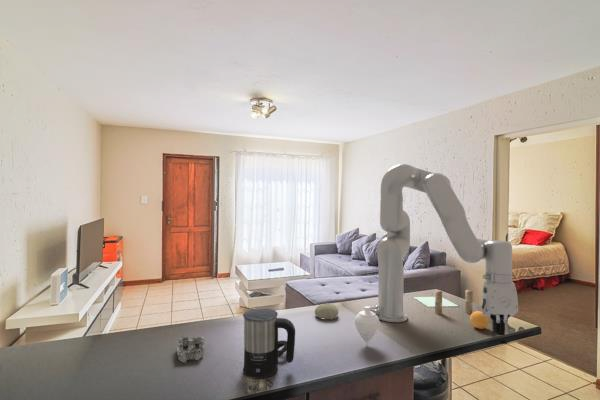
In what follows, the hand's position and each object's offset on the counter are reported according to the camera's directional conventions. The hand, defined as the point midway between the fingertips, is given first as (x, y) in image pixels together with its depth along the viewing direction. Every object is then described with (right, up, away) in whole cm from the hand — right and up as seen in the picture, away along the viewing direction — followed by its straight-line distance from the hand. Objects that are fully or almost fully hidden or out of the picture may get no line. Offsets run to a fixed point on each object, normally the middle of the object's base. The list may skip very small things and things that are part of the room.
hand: (499, 333), depth 106 cm
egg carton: (-97, -1, -12) cm, 98 cm away
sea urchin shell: (-55, -2, +19) cm, 59 cm away
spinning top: (-45, -2, -6) cm, 45 cm away
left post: (-9, -2, +25) cm, 27 cm away
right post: (+4, -2, +26) cm, 27 cm away
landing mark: (-4, -2, +40) cm, 41 cm away
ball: (-1, +1, +10) cm, 10 cm away
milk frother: (-75, -1, -17) cm, 77 cm away
